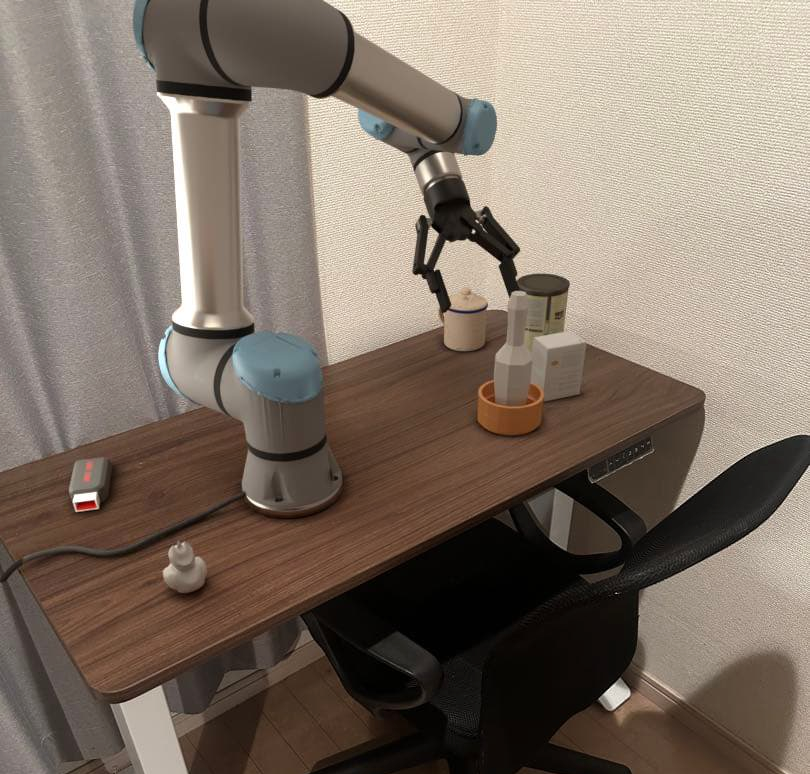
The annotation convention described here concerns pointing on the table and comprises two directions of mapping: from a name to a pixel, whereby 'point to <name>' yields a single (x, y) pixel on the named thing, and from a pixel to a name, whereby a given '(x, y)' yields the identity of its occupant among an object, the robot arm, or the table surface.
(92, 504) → the usb drive
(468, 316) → the teacup with lid
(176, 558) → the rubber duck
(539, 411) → the bowl
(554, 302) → the coffee can
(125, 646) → the table surface
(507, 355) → the low poly bottle
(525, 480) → the table surface
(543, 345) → the small box
